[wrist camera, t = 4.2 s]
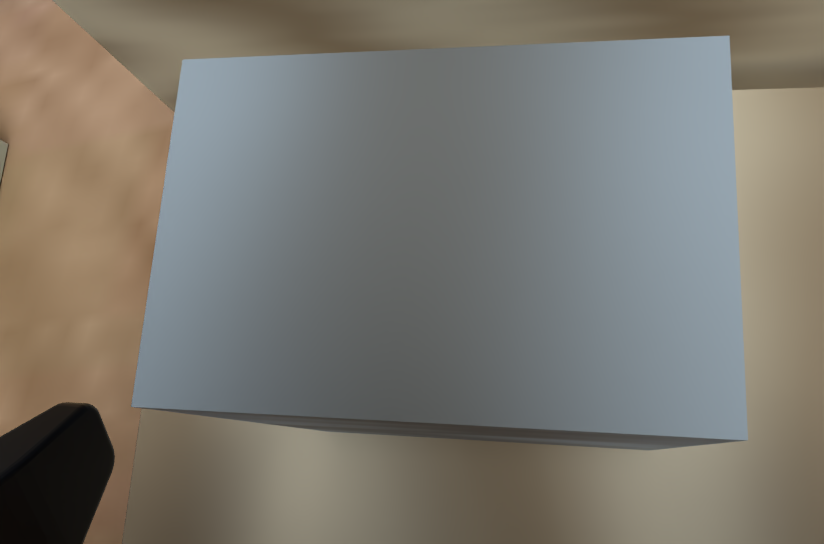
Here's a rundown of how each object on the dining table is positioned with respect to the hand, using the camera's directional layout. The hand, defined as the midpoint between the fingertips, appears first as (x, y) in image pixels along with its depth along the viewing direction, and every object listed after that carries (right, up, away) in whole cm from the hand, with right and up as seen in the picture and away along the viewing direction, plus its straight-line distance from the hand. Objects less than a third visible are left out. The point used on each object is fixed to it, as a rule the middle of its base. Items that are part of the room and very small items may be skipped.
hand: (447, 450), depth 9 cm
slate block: (+1, +1, +6) cm, 6 cm away
